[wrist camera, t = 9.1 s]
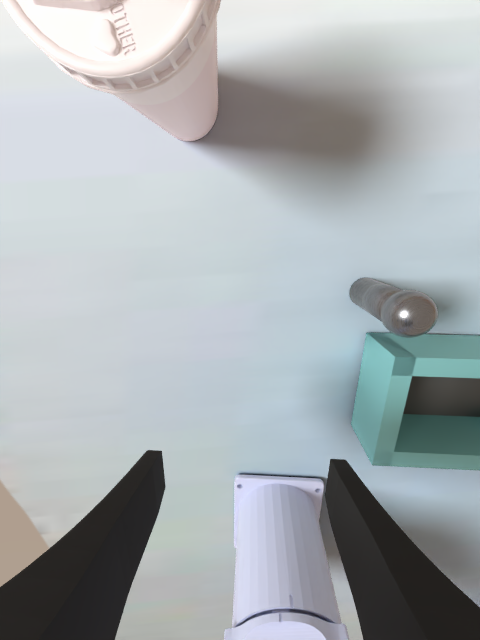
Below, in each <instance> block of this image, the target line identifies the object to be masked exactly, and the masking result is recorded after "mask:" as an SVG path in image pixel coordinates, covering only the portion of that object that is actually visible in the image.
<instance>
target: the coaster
mask: <svg viewBox="0 0 480 640" xmlns="http://www.w3.org/2000/svg"><path fill="white" fill-rule="evenodd" d="M439 335H447V334H439ZM403 414H417V415H443V416H468V417H480V378H454V377H424V376H412V379H411V383H410V387H409V391H408V395H407V399H406V404H405V408H404V412H403Z"/></svg>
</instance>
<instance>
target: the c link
mask: <svg viewBox="0 0 480 640" xmlns="http://www.w3.org/2000/svg"><path fill="white" fill-rule="evenodd" d="M412 376H424V377H454V378H480V336H476V335H439V334H423V335H421V336H418V337H413V338H405V337H400V336H397V335H395V334H393V333H366V339H365V345H364V351H363V357H362V363H361V368H360V374H359V380H358V386H357V392H356V398H355V404H354V410H353V416H352V421H351V425H352V427H353V429H354V431H355V433H356V435H357V437H358V439H359V441H360V443H361V445H362V447H363V448H364V450H365V452H366V454H367V456H368V458H369V460H370V462H371V464H372V465H378V466H398V467H419V468H440V469H461V470H480V417H468V416H443V415H417V414H403V412H404V408H405V404H406V399H407V395H408V391H409V387H410V383H411V379H412Z"/></svg>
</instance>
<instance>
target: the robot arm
mask: <svg viewBox="0 0 480 640" xmlns="http://www.w3.org/2000/svg"><path fill="white" fill-rule="evenodd" d="M239 484H241V485H239ZM317 488H318V489H317ZM164 490H165V479H164V469H163V459H162V451H153V450H148V451H146V452H145V454H144V455H143V456H142V457H141V458H140V459H139V460H138V462H137V463H136V464H135V465H134V466H133V467H132V468H131V469H130V471H129V472H128V473H127V474H126V475H125V476H124V477H123V478H122V479H121V481H120V482H119V483H118V484H117V485H116V486H115V487H114V488H113V489H112V490H111V491H110V492H109V493H108V494H107V495H106V496H105V498H104V499H103V500H102V501H101V502H100V503H99V504H97V505H96V506H95V507H94V508H93V509H92V510H91V511H90V512H89V513H88V514H87V515H86V516H85V517H84V518H83V519H82V520H81V521H80V522H79V523H78V524H77V525H76V526H75V527H74V528H72V529H71V530H70V531H69V532H68V533H67V534H66V535H65V536H64V537H62V538H61V539H60V540H59V541H58V542H57V543H56V544H54V545H53V546H52V547H51V548H50V549H48V550H47V551H46V552H45V553H43V554H42V555H41V556H40V557H39V558H37V559H36V560H35V561H34V562H33V563H31V564H30V565H29V566H28V567H26V568H25V569H24V570H22V571H21V572H20V573H19V574H17V575H16V576H15V577H13V578H12V579H11V580H9V581H8V582H7V583H5V584H4V585H3V586H1V587H0V640H115V636H116V633H117V630H118V626H119V623H120V620H121V616H122V613H123V610H124V606H125V603H126V600H127V596H128V594H129V591H130V588H131V585H132V582H133V579H134V577H135V574H136V571H137V569H138V566H139V563H140V561H141V558H142V555H143V553H144V550H145V548H146V545H147V542H148V540H149V537H150V534H151V532H152V529H153V526H154V524H155V521H156V518H157V516H158V512H159V509H160V505H161V502H162V498H163V494H164ZM323 490H324V483H323V481H322V480H321V479H318V478H298V477H279V476H259V475H237V476H236V477H235V487H234V547H235V548H236V566H235V585H234V603H233V622H232V628H227V629H225V635H224V640H349V636H348V632H347V628H346V625H345V624H342V622H341V617H340V613H339V609H338V604H337V600H336V596H335V591H334V587H333V582H332V578H331V574H330V569H329V565H328V561H327V556H326V552H325V547H324V543H323V539H322V534H321V530H320V526H319V518H320V511H321V504H322V497H323ZM325 498H326V503H327V508H328V513H329V518H330V523H331V526H332V530H333V533H334V537H335V540H336V543H337V547H338V550H339V553H340V556H341V560H342V563H343V566H344V569H345V573H346V576H347V579H348V582H349V586H350V589H351V592H352V595H353V599H354V603H355V606H356V610H357V614H358V618H359V622H360V626H361V631H362V635H363V639H364V640H480V607H478V606H477V605H476V604H475V603H474V602H473V601H472V600H471V599H470V598H469V597H468V596H466V595H465V594H464V593H463V592H462V591H461V590H460V589H459V588H458V587H457V586H455V585H454V584H453V583H452V582H451V581H450V580H449V579H448V578H447V577H446V576H445V575H444V574H443V573H442V572H441V571H440V570H439V569H438V568H437V567H436V566H435V565H434V564H433V563H432V562H431V561H430V560H429V559H428V558H427V557H426V556H425V555H424V554H423V553H422V551H421V550H420V549H419V548H418V547H417V546H416V545H415V544H414V543H413V542H412V541H411V540H410V539H409V537H408V536H407V535H406V534H405V533H404V532H403V531H402V530H401V528H400V527H399V526H398V525H397V524H396V523H395V522H394V520H393V519H392V518H391V517H390V516H389V514H388V513H387V512H386V511H385V510H384V508H383V507H382V506H381V505H380V504H379V502H378V501H377V500H376V499H375V497H374V496H373V495H372V494H371V492H370V491H369V490H368V489H367V487H366V486H365V485H364V483H363V482H362V481H361V479H360V478H359V477H358V475H357V474H356V473H355V472H354V470H353V469H352V467H351V466H350V465H349V463H348V462H347V461H346V460H340V459H330V466H329V473H328V479H327V486H326V493H325Z"/></svg>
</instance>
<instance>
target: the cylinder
mask: <svg viewBox="0 0 480 640" xmlns="http://www.w3.org/2000/svg"><path fill="white" fill-rule="evenodd" d="M349 295H350V299H351V300H352V301H353V302H354V303H355V304H356V305H358V306H359V307H361V308H362V309H364V310H365V311H367V312H368V313H370V314H371V315H373V316H374V317H376V318H377V319H379V320H380V321H382V322H383V324H384V326H385V327H386V328H387V329H388V330H389V331H390V332H391V333H393V334H395V335H397V336H400V337H405V338H413V337H418V336H421V335H423V334H425V333H427V332H428V331H430V330H431V329H432V327H433V326H434V325H435V323H436V321H437V317H438V310H437V306H436V304H435V302H434V301H433V300H432V299H431V298H430V297H429V296H428V295H426V294H425V293H422V292H420V291H416V290H402V289H399V288H396V287H393V286H391V285H388V284H385V283H382V282H379V281H377V280H374V279H371V278H360V279H358V280H357V281H355V282H354V283H353V284H352V286H351V288H350V292H349Z"/></svg>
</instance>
